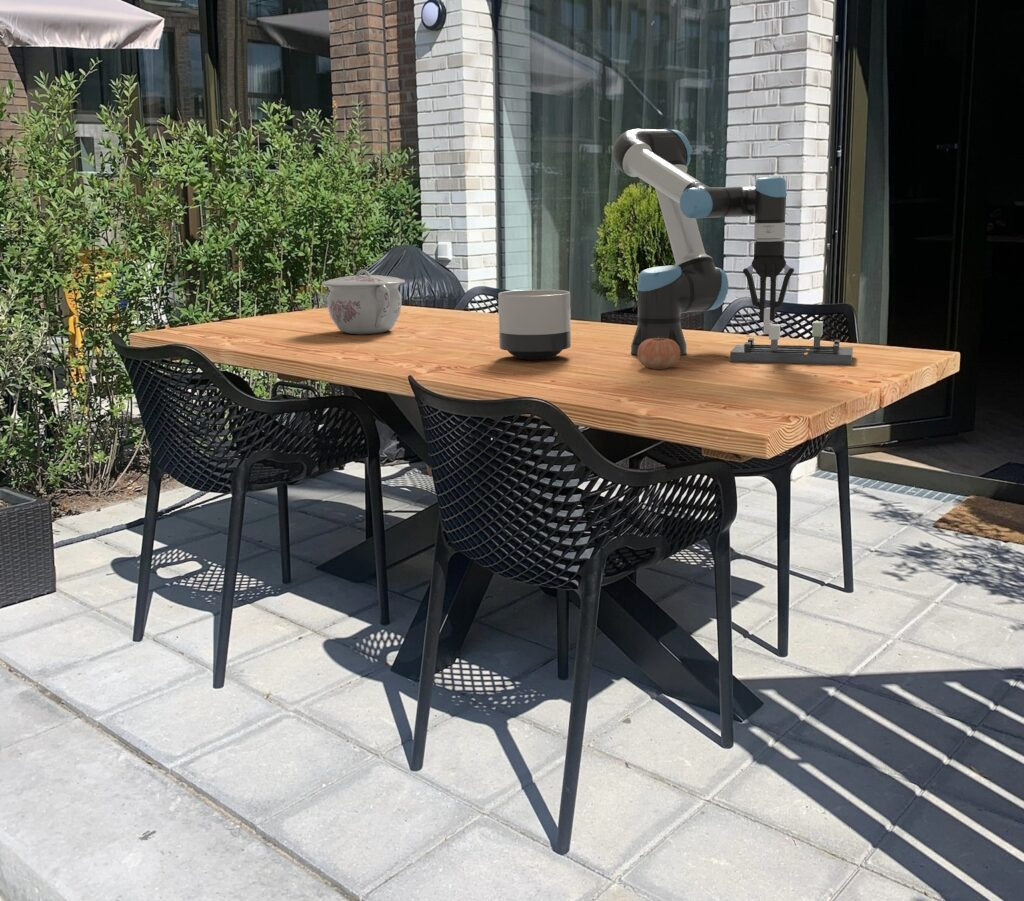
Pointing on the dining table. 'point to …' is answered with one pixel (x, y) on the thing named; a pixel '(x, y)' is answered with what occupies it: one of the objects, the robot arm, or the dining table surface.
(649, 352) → the small orange pumpkin
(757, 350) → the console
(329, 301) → the chamber pot
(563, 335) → the planter
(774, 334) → the fader
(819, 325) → the fader
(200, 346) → the dining table surface
